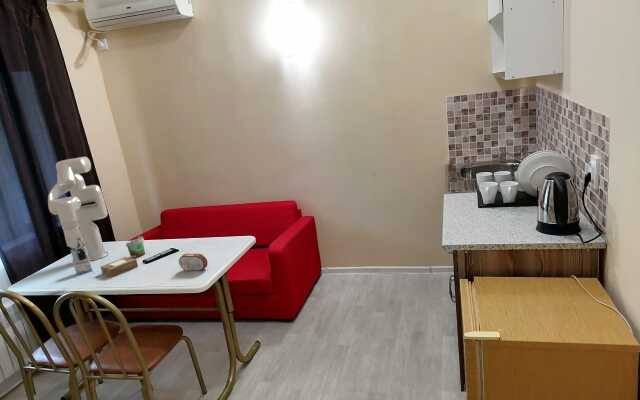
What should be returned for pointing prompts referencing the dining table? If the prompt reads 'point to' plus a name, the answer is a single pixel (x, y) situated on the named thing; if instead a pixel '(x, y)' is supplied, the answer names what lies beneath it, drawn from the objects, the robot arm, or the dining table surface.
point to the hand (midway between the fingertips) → (80, 258)
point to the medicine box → (82, 266)
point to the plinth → (119, 266)
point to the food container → (136, 247)
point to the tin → (193, 262)
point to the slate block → (75, 255)
